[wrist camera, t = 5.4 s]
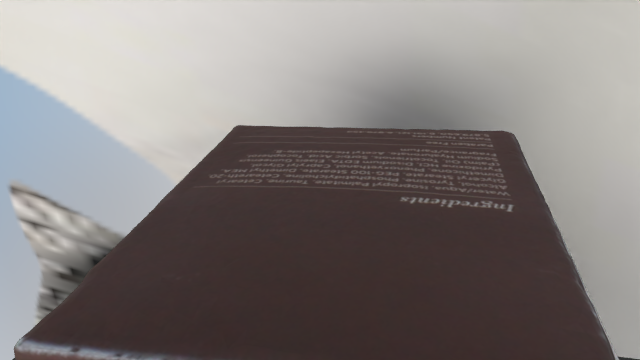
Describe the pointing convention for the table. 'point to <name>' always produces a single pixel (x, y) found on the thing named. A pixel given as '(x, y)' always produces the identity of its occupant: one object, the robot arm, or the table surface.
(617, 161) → the table surface
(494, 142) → the box
